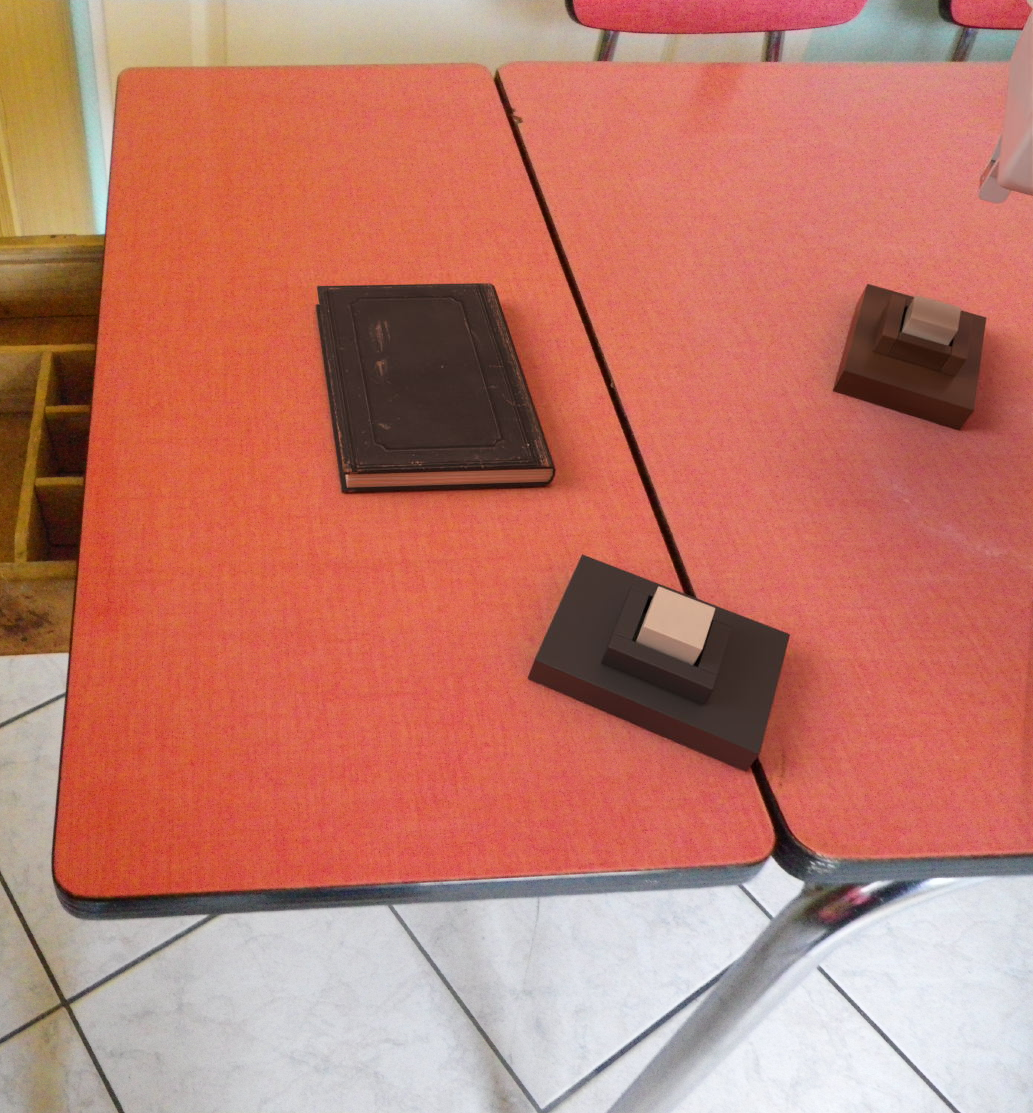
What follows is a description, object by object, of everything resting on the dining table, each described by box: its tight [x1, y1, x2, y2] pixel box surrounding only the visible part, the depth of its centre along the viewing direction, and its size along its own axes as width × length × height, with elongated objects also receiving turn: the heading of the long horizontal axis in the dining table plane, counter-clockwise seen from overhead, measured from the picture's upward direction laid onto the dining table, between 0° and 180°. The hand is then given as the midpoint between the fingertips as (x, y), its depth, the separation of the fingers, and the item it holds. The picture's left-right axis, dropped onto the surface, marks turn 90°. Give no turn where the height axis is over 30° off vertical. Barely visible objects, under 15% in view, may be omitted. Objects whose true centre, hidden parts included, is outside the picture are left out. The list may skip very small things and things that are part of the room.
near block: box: [527, 554, 791, 772], centre depth 65 cm, size 14×10×4 cm
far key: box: [902, 294, 962, 346], centre depth 85 cm, size 4×4×2 cm
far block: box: [832, 283, 987, 431], centre depth 87 cm, size 14×10×4 cm
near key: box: [636, 587, 715, 665], centre depth 63 cm, size 4×4×2 cm
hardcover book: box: [315, 282, 557, 494], centre depth 83 cm, size 16×23×2 cm
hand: (989, 192), depth 72 cm, fingers closed
